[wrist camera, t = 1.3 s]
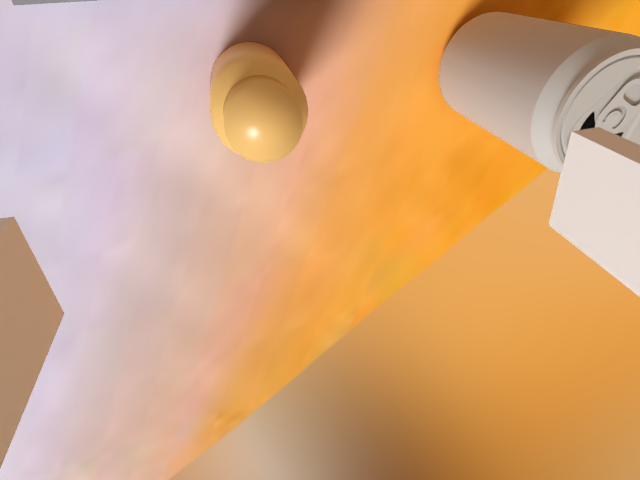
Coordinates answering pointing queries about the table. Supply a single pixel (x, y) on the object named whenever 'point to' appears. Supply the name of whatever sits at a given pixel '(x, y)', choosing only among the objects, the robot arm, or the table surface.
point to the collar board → (42, 1)
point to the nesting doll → (256, 102)
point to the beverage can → (542, 81)
